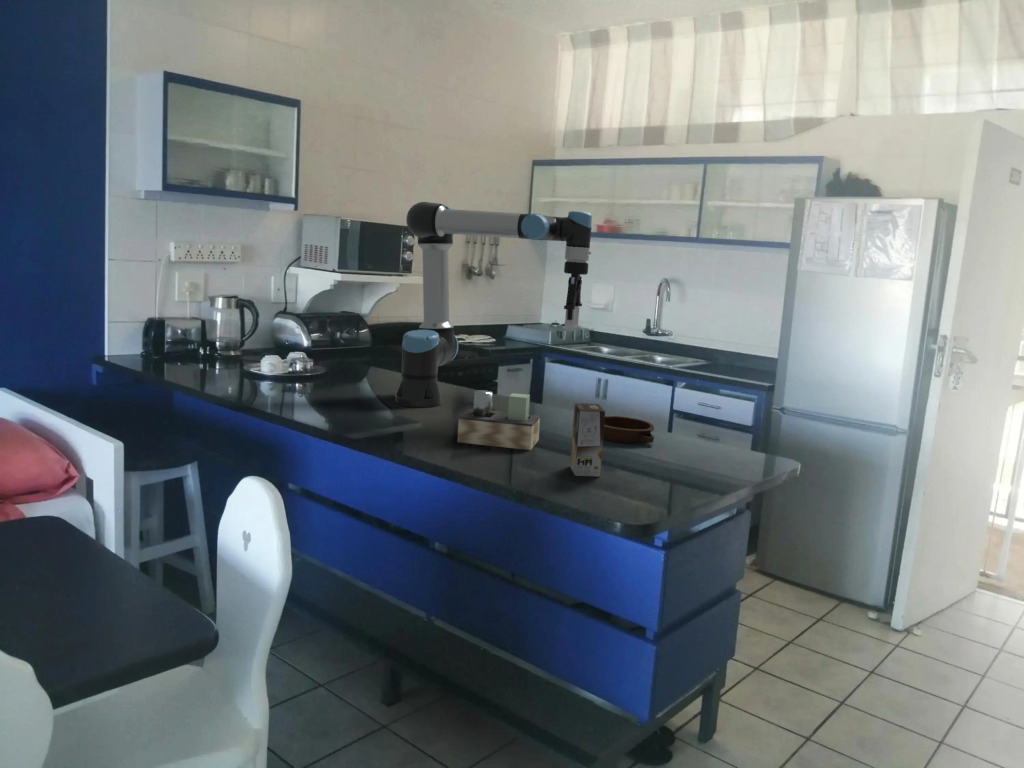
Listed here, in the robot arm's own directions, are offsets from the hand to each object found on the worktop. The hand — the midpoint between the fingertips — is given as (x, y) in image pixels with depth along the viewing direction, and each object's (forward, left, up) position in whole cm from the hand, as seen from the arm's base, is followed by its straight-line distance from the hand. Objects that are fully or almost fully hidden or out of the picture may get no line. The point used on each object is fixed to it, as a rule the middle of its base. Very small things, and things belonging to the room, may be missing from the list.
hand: (571, 328), depth 265 cm
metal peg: (-16, -48, -22) cm, 55 cm away
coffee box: (+15, -68, -28) cm, 75 cm away
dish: (+20, -29, -28) cm, 45 cm away
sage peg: (-6, -48, -22) cm, 53 cm away
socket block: (-11, -48, -28) cm, 56 cm away
